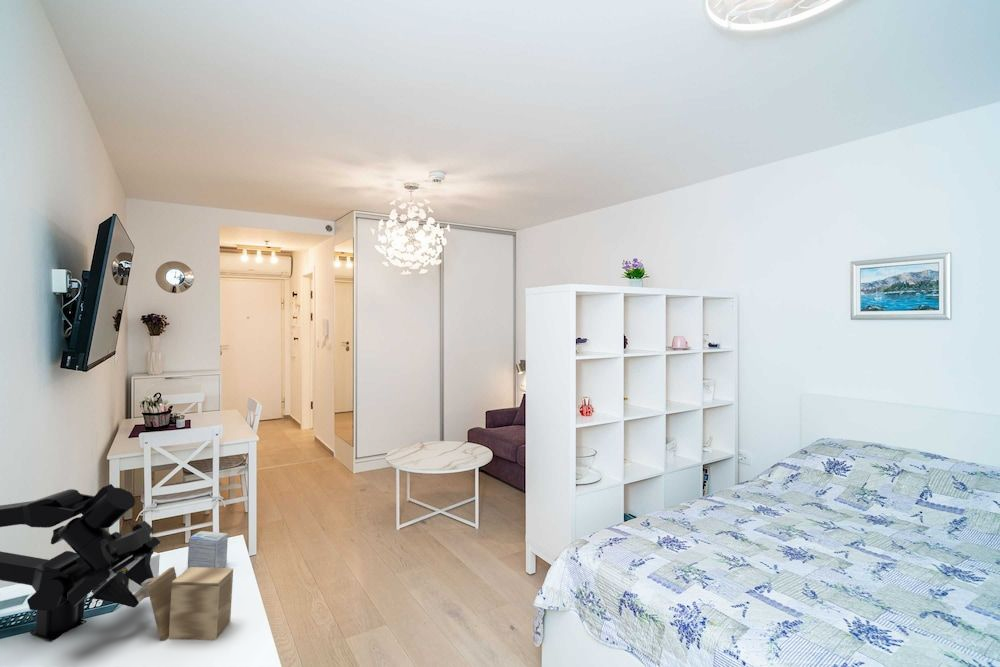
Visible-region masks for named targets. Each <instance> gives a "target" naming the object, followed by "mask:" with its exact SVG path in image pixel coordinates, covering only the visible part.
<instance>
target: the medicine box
mask: <svg viewBox="0 0 1000 667" xmlns="http://www.w3.org/2000/svg"><path fill="white" fill-rule="evenodd" d="M228 536H229V534H228V533H225V532H216V531H207V530H205V531H204V530H200V531H198V532H196V533H195V534H193V535H191V536H190V537H188V548H187V549H188V550H187V551H188V552H187V569H188V568H189V567H204V568H225V567H226V566H227V564H228V560H227V559H228V540H229V538H228ZM225 565H226V566H225ZM224 566H225V567H224ZM187 569H186V570H187Z"/></svg>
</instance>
